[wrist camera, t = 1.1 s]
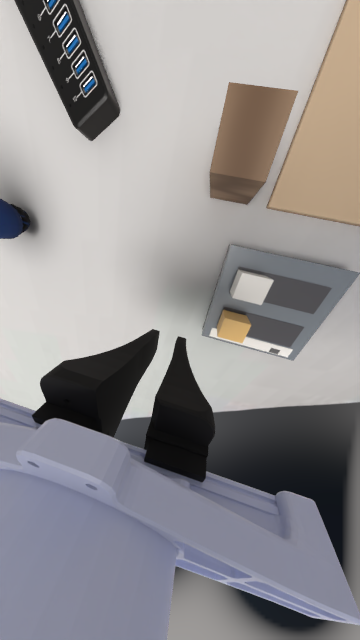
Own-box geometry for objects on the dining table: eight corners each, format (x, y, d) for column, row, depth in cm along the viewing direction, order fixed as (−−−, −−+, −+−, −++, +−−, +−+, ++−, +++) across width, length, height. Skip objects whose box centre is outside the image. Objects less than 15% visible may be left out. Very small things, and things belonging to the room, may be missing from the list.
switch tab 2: (265, 275, 16) (273, 280, 14) (255, 297, 17) (261, 305, 15) (238, 269, 16) (242, 272, 14) (229, 291, 17) (232, 297, 15)
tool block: (264, 151, 14) (298, 90, 8) (247, 204, 15) (265, 182, 10) (222, 145, 14) (229, 82, 9) (210, 197, 16) (209, 172, 11)
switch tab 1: (246, 315, 18) (251, 325, 16) (238, 332, 19) (242, 343, 17) (223, 309, 18) (224, 318, 16) (216, 326, 20) (217, 336, 18)
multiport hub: (92, 145, 16) (75, 130, 14) (-18, -97, 11) (-69, -174, 9) (123, 116, 15) (109, 95, 13) (13, -176, 10) (-39, -289, 8)
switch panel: (344, 270, 16) (361, 273, 14) (286, 351, 22) (293, 361, 20) (229, 245, 17) (231, 244, 15) (202, 328, 23) (201, 336, 21)
